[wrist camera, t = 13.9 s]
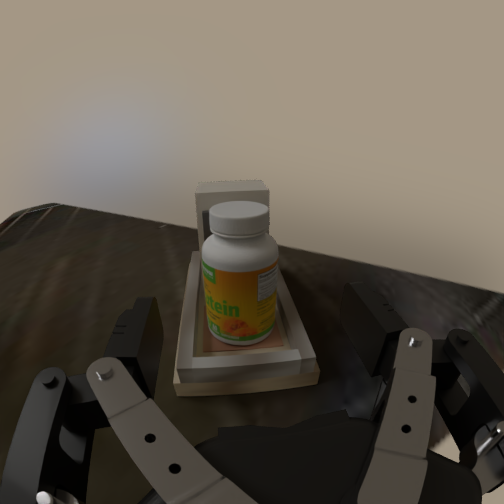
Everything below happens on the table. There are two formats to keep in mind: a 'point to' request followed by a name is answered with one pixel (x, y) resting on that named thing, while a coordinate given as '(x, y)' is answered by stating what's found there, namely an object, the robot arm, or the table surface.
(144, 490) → the table surface
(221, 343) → the birch tray
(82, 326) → the table surface
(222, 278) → the supplement bottle
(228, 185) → the white padded block
